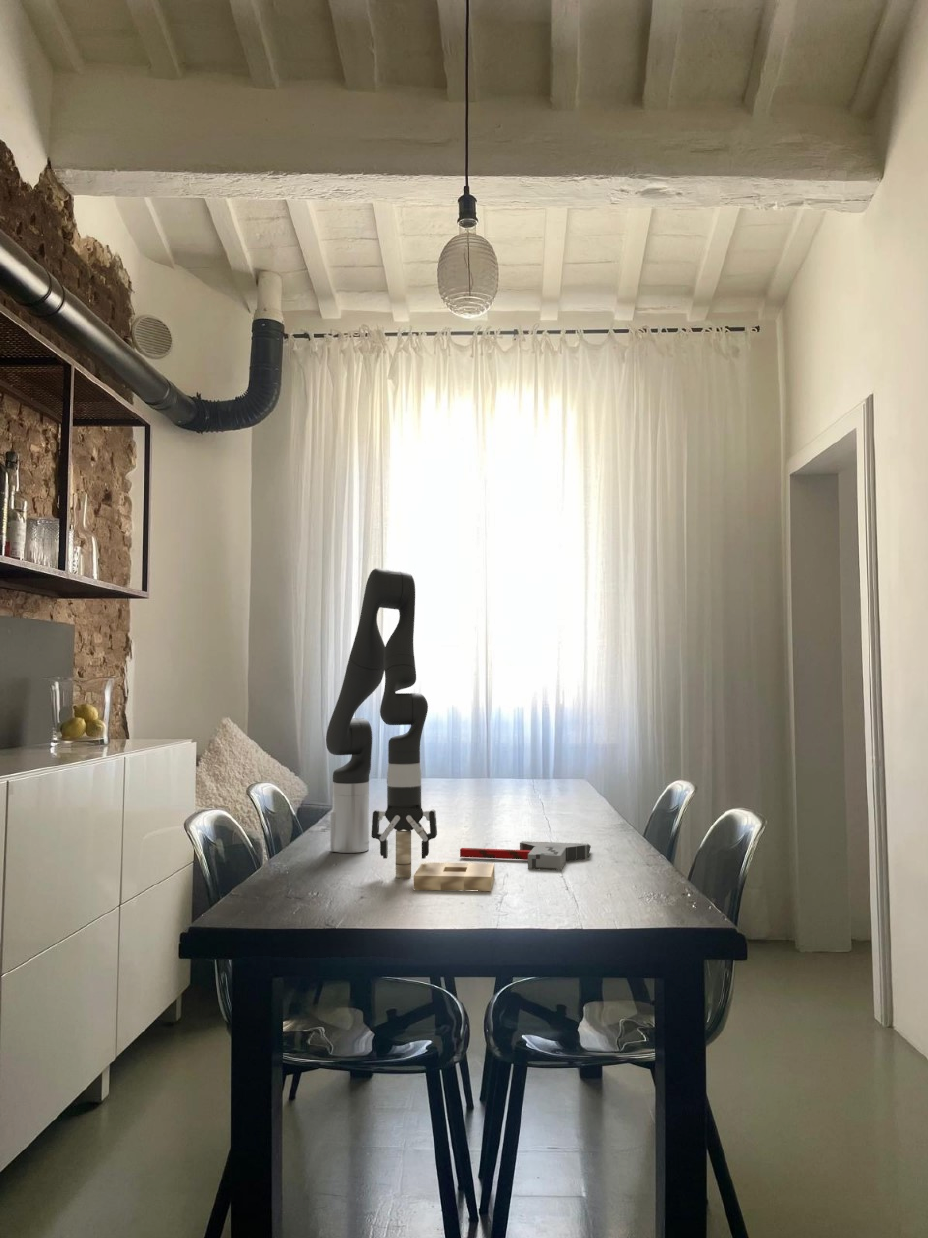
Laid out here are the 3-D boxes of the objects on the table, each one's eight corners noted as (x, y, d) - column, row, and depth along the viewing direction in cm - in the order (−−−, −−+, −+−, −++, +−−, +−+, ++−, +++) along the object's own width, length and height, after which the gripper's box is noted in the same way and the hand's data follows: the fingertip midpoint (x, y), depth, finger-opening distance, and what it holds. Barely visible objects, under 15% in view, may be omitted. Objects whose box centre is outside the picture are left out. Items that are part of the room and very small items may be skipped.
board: (413, 890, 198) (413, 875, 198) (422, 876, 212) (422, 862, 212) (491, 891, 196) (491, 876, 196) (494, 877, 210) (494, 863, 210)
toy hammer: (473, 834, 247) (590, 838, 240) (473, 849, 247) (590, 854, 240) (452, 851, 223) (581, 856, 217) (452, 867, 223) (581, 873, 217)
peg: (394, 878, 209) (394, 832, 210) (396, 875, 213) (396, 829, 213) (410, 878, 209) (410, 832, 210) (412, 875, 212) (412, 829, 213)
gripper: (438, 782, 215) (438, 855, 214) (375, 782, 216) (375, 855, 215) (434, 785, 208) (434, 861, 207) (369, 785, 209) (369, 861, 208)
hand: (404, 858), depth 211 cm, fingers open, 8 cm apart
